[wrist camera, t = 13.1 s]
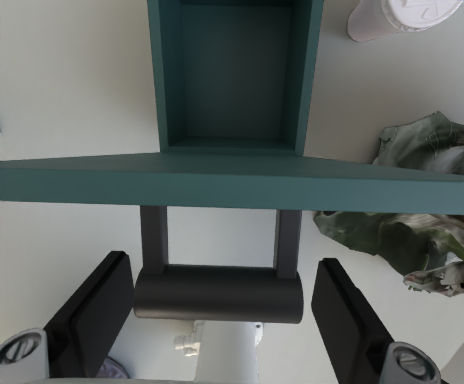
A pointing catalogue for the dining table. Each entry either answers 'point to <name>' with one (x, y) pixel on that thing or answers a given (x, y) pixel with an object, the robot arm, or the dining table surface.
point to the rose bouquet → (410, 224)
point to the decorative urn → (111, 370)
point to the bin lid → (227, 196)
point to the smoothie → (397, 17)
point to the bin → (233, 74)
